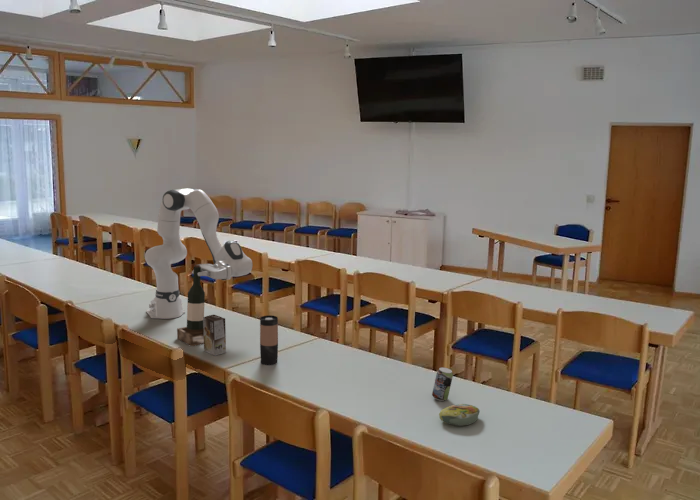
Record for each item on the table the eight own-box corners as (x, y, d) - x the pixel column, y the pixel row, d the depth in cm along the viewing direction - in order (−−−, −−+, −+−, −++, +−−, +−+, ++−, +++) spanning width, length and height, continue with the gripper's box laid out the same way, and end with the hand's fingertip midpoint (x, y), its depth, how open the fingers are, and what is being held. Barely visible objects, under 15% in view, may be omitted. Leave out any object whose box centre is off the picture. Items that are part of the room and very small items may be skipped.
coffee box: (226, 352, 277) (226, 318, 274) (214, 356, 273) (214, 321, 270) (214, 347, 283) (214, 314, 280) (203, 350, 279) (202, 316, 276)
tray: (177, 338, 295) (177, 328, 294) (204, 332, 304) (204, 323, 303) (191, 346, 284) (190, 336, 283) (219, 340, 293) (218, 330, 293)
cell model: (431, 412, 216) (464, 390, 221) (440, 431, 217) (472, 409, 222) (447, 418, 206) (481, 396, 211) (456, 439, 207) (490, 415, 212)
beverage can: (430, 395, 235) (431, 366, 233) (449, 395, 236) (450, 365, 234) (433, 402, 229) (435, 372, 227) (453, 402, 230) (454, 372, 227)
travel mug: (280, 360, 269) (280, 316, 265) (273, 366, 262) (273, 321, 258) (265, 358, 271) (265, 314, 268) (257, 364, 264) (256, 319, 260)
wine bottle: (206, 326, 295) (209, 264, 291) (200, 330, 287) (202, 267, 283) (190, 324, 296) (192, 263, 292) (183, 328, 288) (185, 265, 284)
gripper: (211, 259, 303) (185, 263, 295) (232, 266, 288) (205, 270, 279) (211, 272, 305) (185, 275, 296) (232, 279, 289) (205, 284, 281)
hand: (195, 273), depth 287 cm, fingers closed on wine bottle, 3 cm apart
